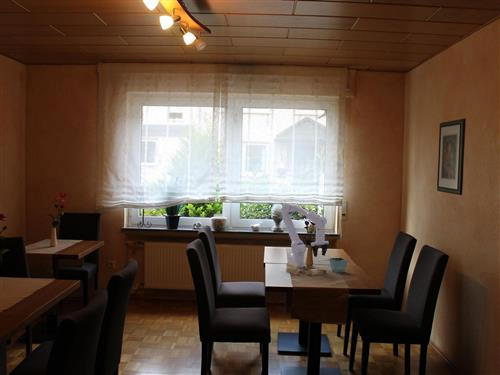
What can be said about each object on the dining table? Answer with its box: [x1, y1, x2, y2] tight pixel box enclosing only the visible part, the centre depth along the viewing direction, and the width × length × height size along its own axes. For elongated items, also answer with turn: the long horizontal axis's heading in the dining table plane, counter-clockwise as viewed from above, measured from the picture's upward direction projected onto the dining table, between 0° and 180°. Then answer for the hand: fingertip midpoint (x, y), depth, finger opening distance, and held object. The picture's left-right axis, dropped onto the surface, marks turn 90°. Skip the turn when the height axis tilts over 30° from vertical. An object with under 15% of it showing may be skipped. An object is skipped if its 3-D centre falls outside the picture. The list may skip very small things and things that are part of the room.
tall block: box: [285, 262, 300, 275], centre depth 300 cm, size 2×9×6 cm, turn 38°
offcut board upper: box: [309, 267, 323, 273], centre depth 300 cm, size 4×8×1 cm, turn 136°
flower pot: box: [329, 257, 348, 273], centre depth 308 cm, size 9×9×9 cm
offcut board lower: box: [308, 271, 324, 276], centre depth 300 cm, size 5×10×1 cm, turn 129°
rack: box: [299, 265, 327, 277], centre depth 303 cm, size 14×14×3 cm
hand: (319, 256), depth 312 cm, fingers open, 7 cm apart
